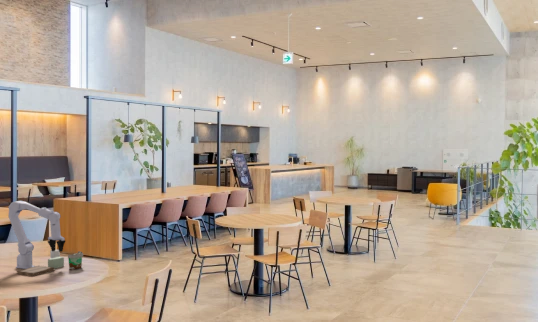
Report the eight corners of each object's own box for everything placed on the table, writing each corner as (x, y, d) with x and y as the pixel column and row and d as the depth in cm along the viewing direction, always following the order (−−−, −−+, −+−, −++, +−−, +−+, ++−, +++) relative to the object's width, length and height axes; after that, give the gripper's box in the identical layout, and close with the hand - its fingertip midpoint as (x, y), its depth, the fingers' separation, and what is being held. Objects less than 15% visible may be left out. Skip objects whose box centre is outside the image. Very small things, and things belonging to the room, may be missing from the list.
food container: (76, 270, 336) (76, 255, 336) (67, 270, 337) (67, 254, 337) (87, 266, 348) (86, 251, 348) (78, 266, 349) (78, 251, 349)
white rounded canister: (48, 262, 361) (48, 250, 361) (55, 260, 367) (55, 249, 366) (54, 263, 359) (54, 251, 358) (61, 261, 364) (61, 250, 364)
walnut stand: (17, 274, 328) (17, 270, 328) (38, 268, 343) (38, 265, 343) (33, 276, 322) (33, 273, 322) (54, 270, 337) (54, 267, 337)
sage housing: (47, 268, 344) (47, 259, 344) (60, 265, 353) (59, 256, 353) (53, 269, 342) (52, 259, 342) (65, 265, 351) (64, 256, 351)
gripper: (67, 229, 345) (69, 250, 345) (54, 229, 353) (55, 249, 353) (58, 231, 339) (60, 252, 339) (44, 231, 347) (46, 251, 347)
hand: (57, 251), depth 346 cm, fingers open, 7 cm apart
